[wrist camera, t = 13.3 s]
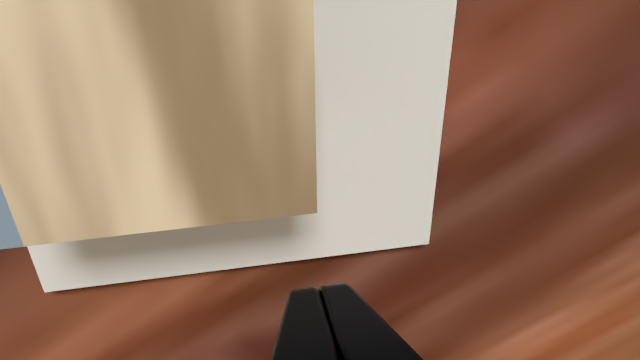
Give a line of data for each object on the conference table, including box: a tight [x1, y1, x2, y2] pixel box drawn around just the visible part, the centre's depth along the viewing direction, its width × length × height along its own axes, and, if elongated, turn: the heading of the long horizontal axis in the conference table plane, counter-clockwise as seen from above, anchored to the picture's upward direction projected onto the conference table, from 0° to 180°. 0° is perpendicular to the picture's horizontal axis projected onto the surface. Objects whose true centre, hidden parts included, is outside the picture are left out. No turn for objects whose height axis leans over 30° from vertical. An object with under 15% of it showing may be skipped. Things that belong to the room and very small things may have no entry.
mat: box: [27, 0, 457, 292], centre depth 17 cm, size 14×16×1 cm
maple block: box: [0, 0, 317, 249], centre depth 15 cm, size 4×6×8 cm
